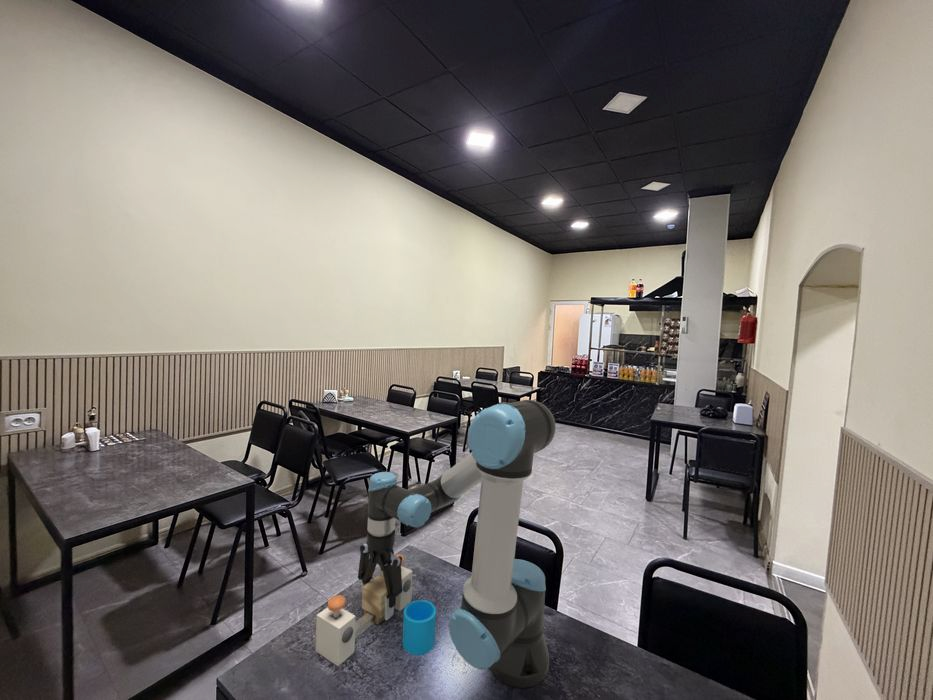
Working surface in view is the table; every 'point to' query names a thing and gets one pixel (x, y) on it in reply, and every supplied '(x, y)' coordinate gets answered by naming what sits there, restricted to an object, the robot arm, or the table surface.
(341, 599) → the plunger
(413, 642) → the mug
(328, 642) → the cabinet
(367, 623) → the rail
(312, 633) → the table surface
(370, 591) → the block
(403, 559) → the plunger
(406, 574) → the cabinet
